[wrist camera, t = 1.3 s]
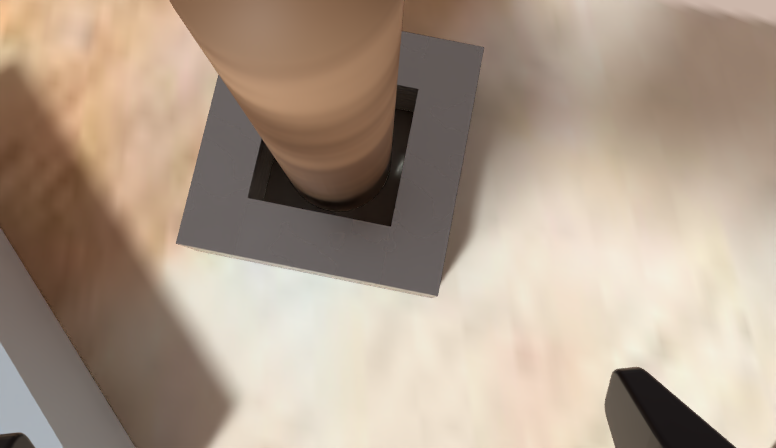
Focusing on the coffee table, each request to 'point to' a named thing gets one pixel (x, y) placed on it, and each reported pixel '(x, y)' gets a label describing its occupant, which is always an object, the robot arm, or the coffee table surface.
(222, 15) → the pin
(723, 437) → the robot arm
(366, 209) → the coffee table surface
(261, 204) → the gray square socket plate
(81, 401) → the tray
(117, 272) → the coffee table surface
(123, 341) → the coffee table surface
